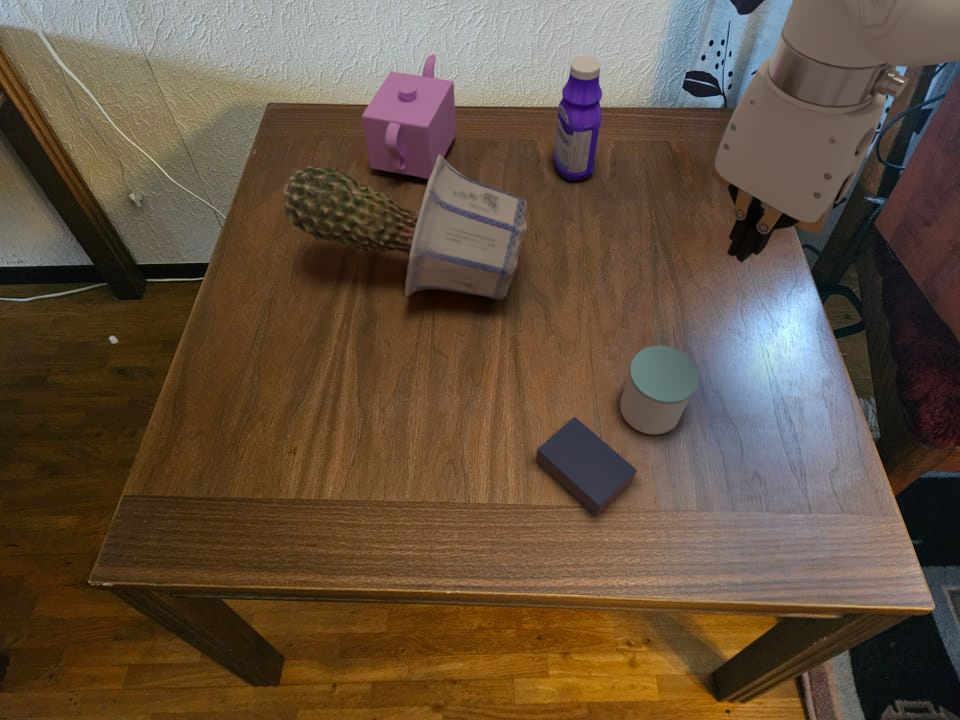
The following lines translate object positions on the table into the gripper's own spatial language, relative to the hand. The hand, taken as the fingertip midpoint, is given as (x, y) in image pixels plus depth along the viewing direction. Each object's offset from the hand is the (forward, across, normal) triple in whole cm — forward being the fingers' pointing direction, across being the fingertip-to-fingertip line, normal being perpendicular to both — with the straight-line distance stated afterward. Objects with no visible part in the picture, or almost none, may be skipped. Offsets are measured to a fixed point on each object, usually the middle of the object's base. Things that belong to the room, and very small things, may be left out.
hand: (743, 250), depth 60 cm
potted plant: (+22, +36, +13) cm, 44 cm away
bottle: (+22, +36, -19) cm, 46 cm away
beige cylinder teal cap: (+20, 0, +11) cm, 23 cm away
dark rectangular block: (+22, 0, +18) cm, 28 cm away
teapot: (+22, +56, -4) cm, 60 cm away
